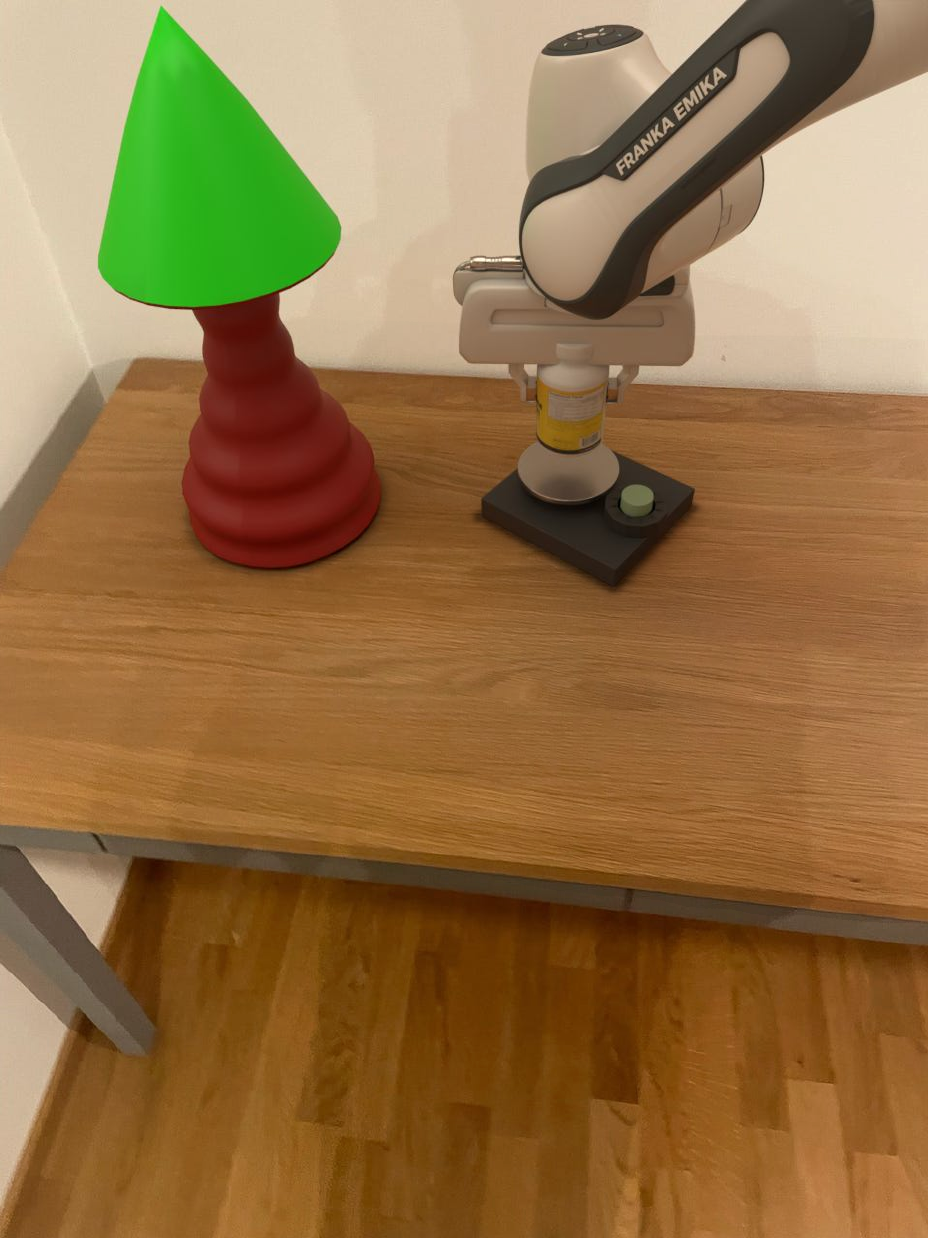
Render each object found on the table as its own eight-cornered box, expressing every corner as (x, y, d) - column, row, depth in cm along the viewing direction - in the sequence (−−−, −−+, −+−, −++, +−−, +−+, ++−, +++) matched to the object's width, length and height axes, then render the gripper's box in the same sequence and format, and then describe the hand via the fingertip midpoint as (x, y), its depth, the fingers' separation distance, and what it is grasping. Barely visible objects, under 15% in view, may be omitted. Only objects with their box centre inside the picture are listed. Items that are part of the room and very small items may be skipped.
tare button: (658, 505, 88) (659, 492, 87) (640, 522, 87) (642, 510, 86) (631, 492, 90) (633, 480, 89) (614, 508, 88) (615, 496, 87)
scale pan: (638, 464, 92) (639, 459, 91) (580, 519, 87) (580, 515, 87) (557, 426, 96) (557, 422, 96) (497, 477, 91) (496, 472, 91)
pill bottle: (561, 410, 92) (565, 303, 83) (616, 434, 89) (627, 326, 80) (521, 444, 88) (522, 336, 80) (577, 470, 86) (584, 362, 77)
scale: (695, 508, 93) (701, 477, 90) (617, 589, 86) (621, 559, 83) (563, 445, 100) (564, 415, 97) (481, 516, 94) (480, 486, 91)
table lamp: (158, 556, 92) (-53, 52, 58) (236, 433, 104) (99, -42, 70) (347, 585, 88) (239, 65, 54) (404, 454, 101) (346, -37, 67)
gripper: (447, 276, 73) (456, 418, 84) (709, 277, 72) (685, 422, 82) (455, 237, 78) (462, 377, 88) (703, 237, 76) (680, 380, 86)
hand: (571, 399), depth 85 cm, fingers closed on pill bottle, 6 cm apart
